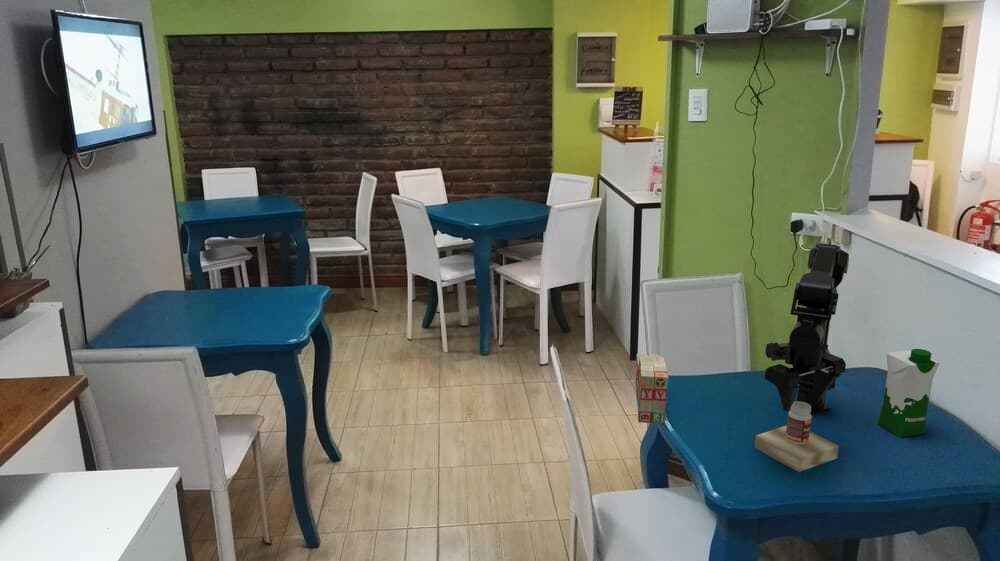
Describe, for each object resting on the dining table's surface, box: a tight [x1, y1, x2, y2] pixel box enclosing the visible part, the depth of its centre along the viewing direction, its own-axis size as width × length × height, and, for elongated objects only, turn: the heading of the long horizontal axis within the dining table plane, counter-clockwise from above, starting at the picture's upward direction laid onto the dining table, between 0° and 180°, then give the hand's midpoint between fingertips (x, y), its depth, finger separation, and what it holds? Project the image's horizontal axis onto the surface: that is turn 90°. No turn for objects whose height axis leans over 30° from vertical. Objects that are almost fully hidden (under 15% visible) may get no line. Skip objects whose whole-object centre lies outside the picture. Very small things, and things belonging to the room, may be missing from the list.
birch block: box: [754, 425, 840, 473], centre depth 164 cm, size 12×12×3 cm
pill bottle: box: [786, 400, 813, 445], centre depth 162 cm, size 5×5×8 cm
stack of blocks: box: [635, 353, 669, 425], centre depth 186 cm, size 21×6×12 cm, turn 172°
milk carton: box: [877, 348, 940, 438], centre depth 172 cm, size 9×9×20 cm
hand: (800, 406), depth 161 cm, fingers open, 9 cm apart
